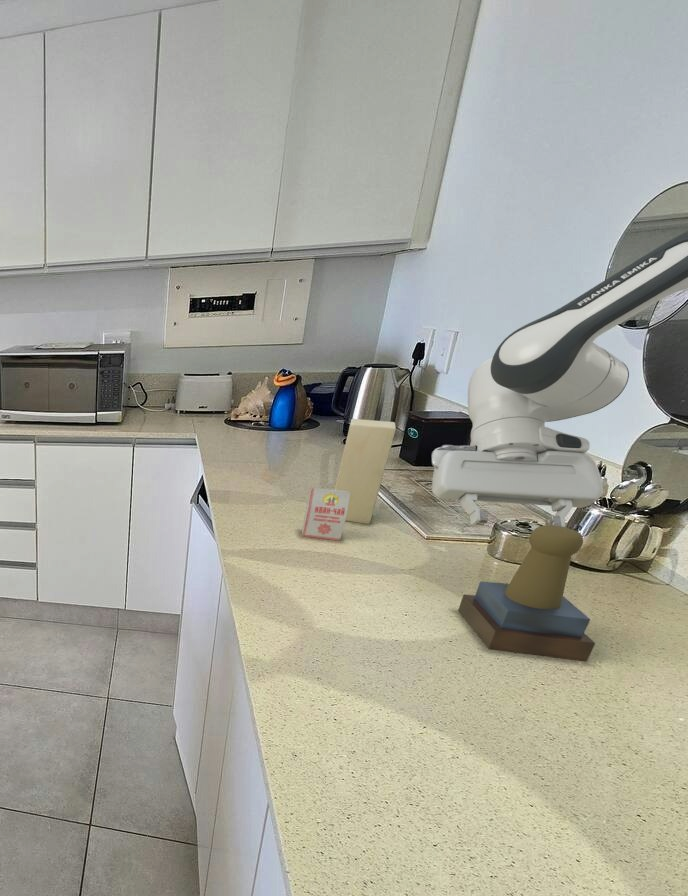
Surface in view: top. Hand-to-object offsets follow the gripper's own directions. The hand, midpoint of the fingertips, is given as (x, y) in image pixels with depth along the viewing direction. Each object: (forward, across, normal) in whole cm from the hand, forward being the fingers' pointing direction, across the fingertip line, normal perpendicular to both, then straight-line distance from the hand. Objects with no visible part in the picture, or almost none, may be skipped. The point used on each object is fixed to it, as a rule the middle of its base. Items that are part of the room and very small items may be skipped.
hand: (516, 526), depth 88 cm
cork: (+12, 0, -1) cm, 12 cm away
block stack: (+16, 0, +3) cm, 16 cm away
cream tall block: (-16, -12, +36) cm, 41 cm away
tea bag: (-7, -20, +26) cm, 34 cm away
